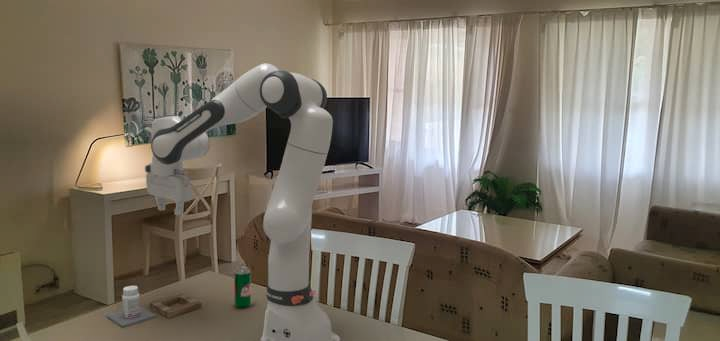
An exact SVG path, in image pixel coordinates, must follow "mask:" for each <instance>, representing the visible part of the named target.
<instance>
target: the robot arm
mask: <svg viewBox="0 0 720 341" xmlns="http://www.w3.org/2000/svg"><path fill="white" fill-rule="evenodd" d="M327 102H328V94H327V90H326V88H325V87H324V85H323V84H322V83H320V81H318V80H316V79H314V78H311V77H307V76H305V75H303V74H301V73H298V72H290V71H287V70H280V69H279V68H278V67H277V66H275V65H273V64H271V63H268V62H267V63H266V62H265V63H261V64H258V65H257V66H255V67H253V68H251V69H250V70H248V71H246V72H245V73H244V74H242V75H241V76H239V77H238V78H236V80H235V81H233V82H232V83H231V84H230V85H229V86H227V87H226V88H225V89H223V90H222V91H221V92H220V93H219V94H217V95H215V97H213V98H211V99H210V100H209V101H208V102H206V103H204V104H203V105H201V106H199V107H198V108H197V109H195V110H194V111H193V112H191V113H190V114H188V115H187V116H186V117H184V118H183V119H182V118H181V117H179V116H178V115H175V114H174V115H172V114H170V115H162V116H158V117H155V118H154V119H153V121H152V123H151V128H150V129H151V130H150V131H151V132H150V141H151V144H150V148H151V152H152V157H151V158H152V160H151V162H150V163H148V164H146V165H144V171H145V173H146V175H145V181H146V182H145V183H146V191H147V193H148V194H149V196H154V197H155V201H156V204H157V210H159V211H161V212H162V211H166V204H165V202H164V199H167V200H171V201H174V203H175V208H174V209H173V212H174V215H175V216H181V215H182V214H183V207H184V205H185V203H186V202H190V201H191V200H192V196H193V193H192V185H191V180H190V178H189V177H188V175H187V174H186V171H184V162H186V161H190V160H195V159H200V158H202V157H204V156H205V155H206V154H208V152H209V150H210V145H211V144H210V143H211V142H210V138H209V137H210V136H208V133H207V132H209V131H210V130H212V129H215V128H218V127H223V126H227V125H233V124H239V123H244V122H246V121H248V120H250V119H252V118H254V117H256V116H258V115H259V114H260V113H261V112H263V111H265V109H267V108H268V109H270V110H271V111H273V112H274V113H275V114H277V115H278V116H279V117H280V118H282V119H289V121H290V132H289V135H288V139H287V142H286V146H285V149H284V154H283V156H282V162H281V164H280V169H279V172H278V175H277V178H276V180H275V181H274V182H275V183H274V186H273V188H272V191H271V194H270V197H269V199H268V203H267V206H266V209H265V210H266V211H264V212H265V213H264V215H263V216H264V217H263V222H262V226H263V232H264V233H265V235H266V237H267V238H268V239H269V240H270V246H269V250H268V251H269V252H268V257H267V258H268V259H267V262H268V266H267V270H268V271H267V272H268V274H267V280H268V282H267V284H266V299H267V305H266V309H265V312H264V322H263V323H264V324H263V331H262V334H261V335H262V336H261V337H260V341H341V337H340V336H339V335H337V334H336V333H334V332H333V331H332V325H331V324H332V323H331V319H330V318H329V317H328V314H327V312H326V311H325V310H323V309H322V308H321V306H319V304H318V303H317V302H316V301H315V300H314V296H315V295H316V290H312V287H311V283H310V281H309V280H310V277H309V276H310V272H309V271H310V250H311V249H310V247H311V235H312V221H313V220H312V218H313V217H312V216H313V208H312V206H313V203H314V200H315V196H316V193H317V191H318V187H319V185H320V181H321V178H322V174H323V172H324V171H323V170H324V168H325V165H326V160H327V157H328V153H329V150H330V146H331V141H332V134H333V122H334V121H333V117H332V115H331V114H330V113H329V111H327V110H326V109H325V107H326V105H327Z"/></svg>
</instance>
